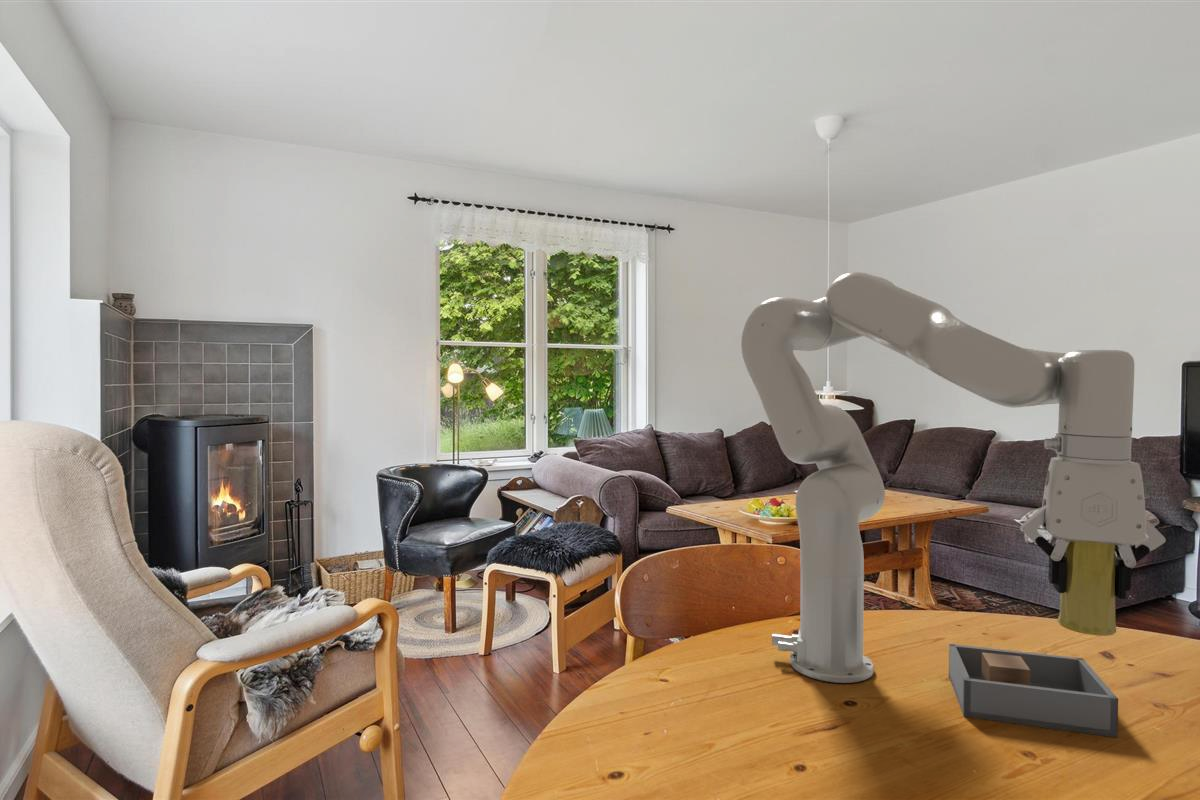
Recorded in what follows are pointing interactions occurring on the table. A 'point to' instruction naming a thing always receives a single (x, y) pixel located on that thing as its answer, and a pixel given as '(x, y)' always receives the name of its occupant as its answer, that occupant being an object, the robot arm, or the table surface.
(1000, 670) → the walnut cube
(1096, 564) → the vase
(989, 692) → the tote
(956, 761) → the table surface
